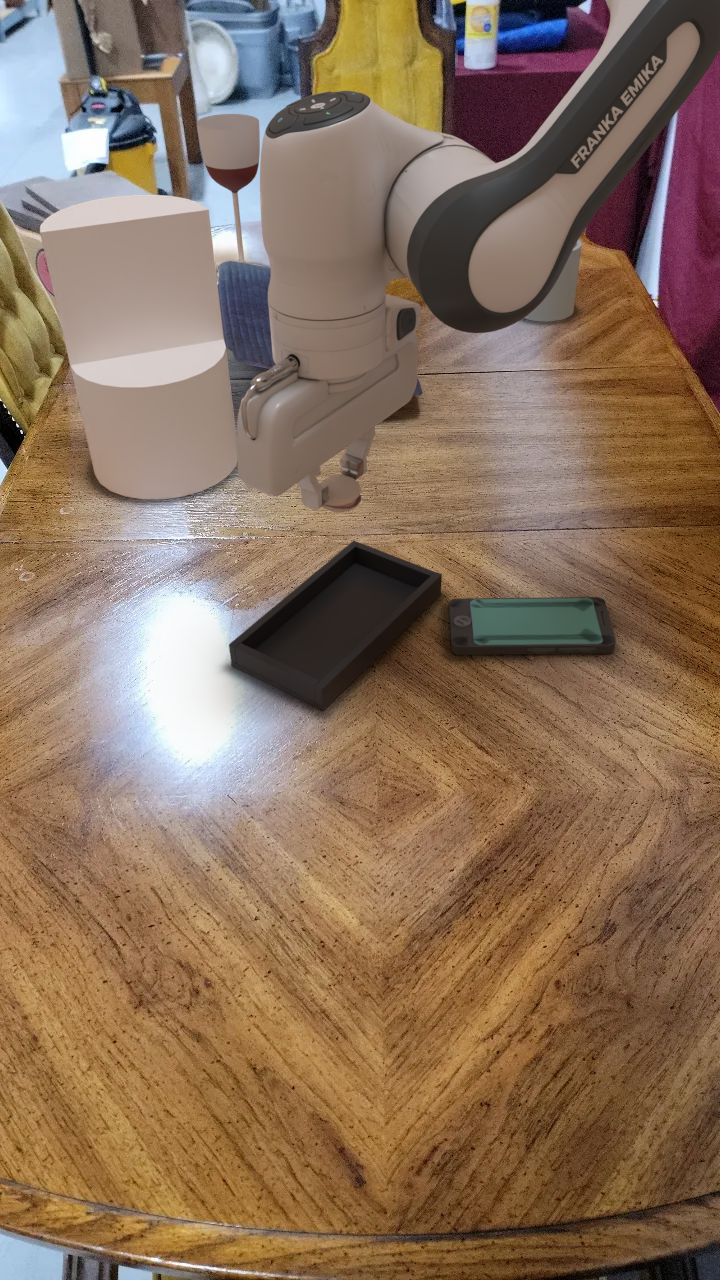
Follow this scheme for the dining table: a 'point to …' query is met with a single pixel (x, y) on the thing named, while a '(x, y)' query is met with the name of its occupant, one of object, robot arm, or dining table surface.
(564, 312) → the mug
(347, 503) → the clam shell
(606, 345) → the dining table surface
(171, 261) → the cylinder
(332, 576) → the tray
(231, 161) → the wineglass
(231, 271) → the mat
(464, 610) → the smartphone
